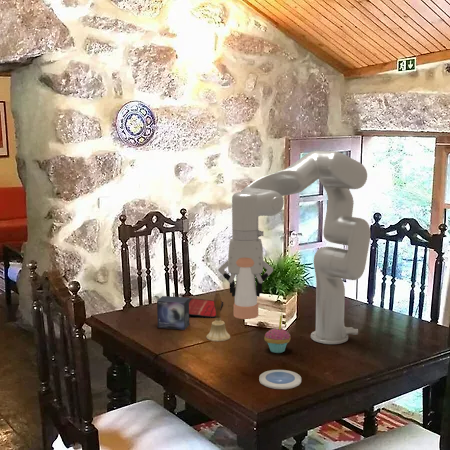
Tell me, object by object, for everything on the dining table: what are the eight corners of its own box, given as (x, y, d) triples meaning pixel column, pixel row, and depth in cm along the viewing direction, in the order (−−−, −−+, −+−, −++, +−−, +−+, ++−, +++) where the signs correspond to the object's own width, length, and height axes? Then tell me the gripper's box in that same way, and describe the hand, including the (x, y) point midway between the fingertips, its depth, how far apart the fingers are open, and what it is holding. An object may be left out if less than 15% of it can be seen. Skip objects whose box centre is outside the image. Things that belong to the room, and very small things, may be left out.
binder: (175, 312, 241) (185, 297, 261) (175, 318, 241) (185, 302, 262) (216, 315, 239) (224, 300, 259) (216, 321, 239) (224, 305, 260)
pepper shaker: (237, 320, 182) (236, 255, 179) (230, 312, 189) (229, 250, 186) (261, 317, 184) (261, 253, 181) (254, 310, 191) (253, 248, 187)
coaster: (299, 372, 187) (299, 369, 187) (302, 389, 176) (302, 386, 175) (259, 372, 188) (259, 369, 188) (259, 388, 176) (259, 385, 176)
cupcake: (274, 344, 211) (274, 309, 209) (295, 349, 206) (296, 314, 204) (259, 351, 205) (259, 315, 203) (281, 357, 200) (281, 320, 198)
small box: (156, 328, 228) (155, 300, 226) (162, 322, 234) (161, 295, 233) (184, 330, 226) (184, 302, 224) (190, 324, 232) (189, 297, 230)
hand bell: (227, 342, 214) (227, 296, 211) (203, 340, 215) (203, 295, 213) (232, 334, 222) (232, 289, 219) (209, 332, 223) (208, 288, 221)
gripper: (275, 232, 185) (275, 292, 188) (216, 232, 187) (217, 291, 190) (275, 237, 178) (275, 299, 181) (214, 237, 179) (215, 298, 182)
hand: (245, 294), depth 185 cm, fingers closed on pepper shaker, 6 cm apart
